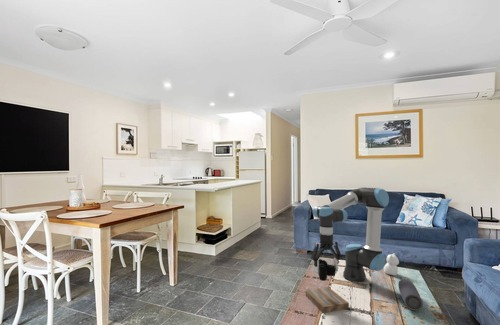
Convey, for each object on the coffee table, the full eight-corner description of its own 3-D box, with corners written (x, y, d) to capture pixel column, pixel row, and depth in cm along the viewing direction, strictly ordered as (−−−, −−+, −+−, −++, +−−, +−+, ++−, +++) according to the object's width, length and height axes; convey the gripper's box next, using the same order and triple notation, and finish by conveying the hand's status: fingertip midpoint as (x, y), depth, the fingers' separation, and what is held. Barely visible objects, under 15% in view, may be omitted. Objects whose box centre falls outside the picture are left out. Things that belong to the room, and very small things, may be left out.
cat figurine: (396, 278, 181) (396, 256, 181) (378, 272, 190) (378, 252, 191) (401, 274, 187) (401, 254, 187) (383, 269, 196) (383, 249, 197)
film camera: (336, 282, 141) (336, 265, 141) (318, 280, 143) (318, 264, 143) (332, 271, 156) (332, 256, 156) (316, 270, 158) (316, 255, 158)
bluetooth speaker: (397, 292, 159) (396, 276, 160) (414, 295, 156) (414, 278, 156) (403, 310, 138) (403, 292, 139) (423, 314, 135) (423, 295, 135)
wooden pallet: (328, 291, 160) (328, 287, 160) (348, 308, 141) (348, 302, 141) (305, 295, 156) (305, 290, 156) (323, 312, 137) (323, 307, 137)
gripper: (340, 231, 157) (340, 266, 156) (304, 233, 150) (304, 270, 149) (347, 233, 149) (348, 271, 148) (311, 236, 143) (311, 275, 142)
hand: (326, 271), depth 149 cm, fingers closed on film camera, 12 cm apart
